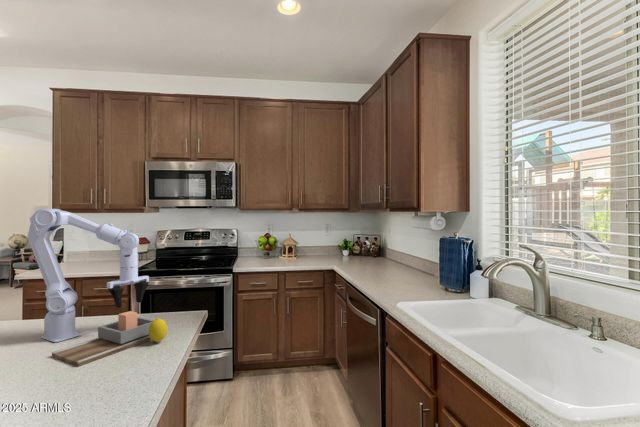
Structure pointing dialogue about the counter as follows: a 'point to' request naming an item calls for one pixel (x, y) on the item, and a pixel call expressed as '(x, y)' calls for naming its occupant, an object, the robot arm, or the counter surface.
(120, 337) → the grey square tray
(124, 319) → the block
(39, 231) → the robot arm
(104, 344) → the track
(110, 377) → the counter surface
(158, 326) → the lemon
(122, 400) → the counter surface
